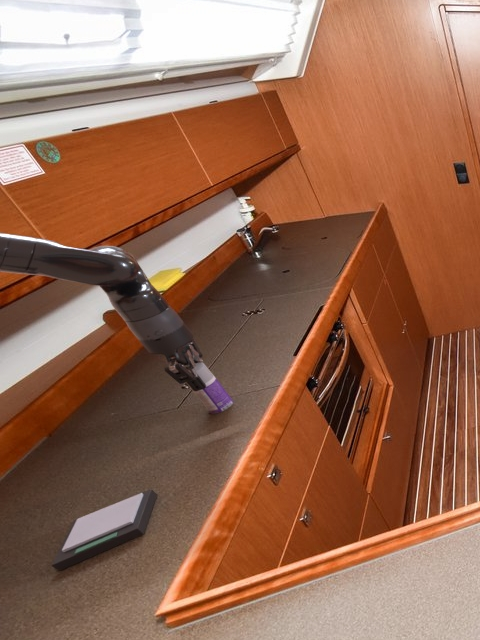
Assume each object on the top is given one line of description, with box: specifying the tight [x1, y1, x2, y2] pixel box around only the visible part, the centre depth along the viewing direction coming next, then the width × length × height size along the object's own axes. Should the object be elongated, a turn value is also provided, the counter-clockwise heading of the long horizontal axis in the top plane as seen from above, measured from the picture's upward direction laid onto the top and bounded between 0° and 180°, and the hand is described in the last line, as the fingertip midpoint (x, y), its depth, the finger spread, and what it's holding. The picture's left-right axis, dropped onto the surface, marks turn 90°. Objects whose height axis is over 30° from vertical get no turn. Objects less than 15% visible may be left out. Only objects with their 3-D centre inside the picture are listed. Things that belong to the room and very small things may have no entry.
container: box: [185, 362, 234, 414], centre depth 102 cm, size 5×5×15 cm
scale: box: [51, 488, 158, 572], centre depth 80 cm, size 11×10×3 cm
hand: (202, 382), depth 101 cm, fingers closed on container, 4 cm apart
